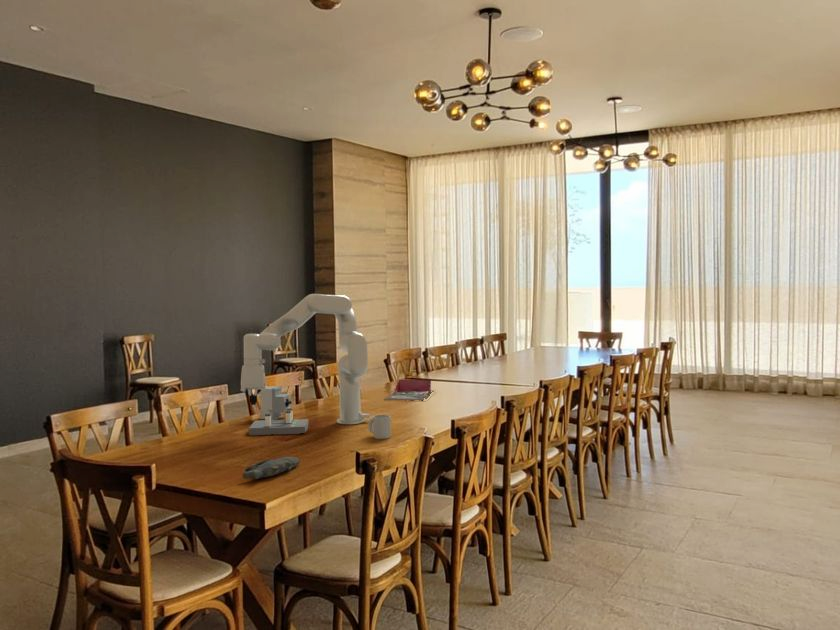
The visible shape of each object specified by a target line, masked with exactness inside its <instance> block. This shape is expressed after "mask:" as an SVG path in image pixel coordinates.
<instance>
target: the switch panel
mask: <svg viewBox="0 0 840 630" xmlns="http://www.w3.org/2000/svg"><path fill="white" fill-rule="evenodd" d="M308 425H309V418H303V419H293V420H291V423H286V419H276V420H271V426H267V427H265V420H262V419H261V420H260V419H258V420H254V422H253V423H251V425H250V426H249V427H248V436H258V435H259V436H264V435H267V436H268V435H271V434H273V435H301V434H300V433H305V432H307V430H308V428H309V426H308ZM305 434H306V433H305Z"/></svg>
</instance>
